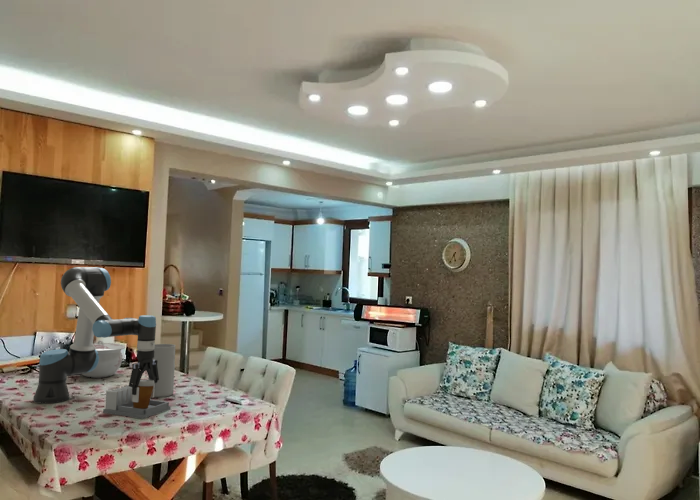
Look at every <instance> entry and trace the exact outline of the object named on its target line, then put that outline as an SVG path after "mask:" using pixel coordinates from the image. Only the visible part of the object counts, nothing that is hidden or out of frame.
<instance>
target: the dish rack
mask: <svg viewBox="0 0 700 500" xmlns="http://www.w3.org/2000/svg"><path fill="white" fill-rule="evenodd" d="M132 398H133V395H132V387H130V386H129V384H128V385H127V384H126V385H125V386H121V387H116V389H115V388H111V390H109V389H108V390H105V406H104V408H103V410H102V413H104V414H111V415H116V416H121V415H122V417H129V418H135V419H140V418H141V420H143V419H146V417H147V418H149V416H150V417H152V416H155V415H157V414H161V413H163V412H166V411H169V410H171V405H169V404H170V402H169V401H162V400H156V399H150V402H149V406H148V408H145V409H139V408H133V402H132Z"/></svg>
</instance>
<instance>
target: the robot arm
mask: <svg viewBox="0 0 700 500" xmlns="http://www.w3.org/2000/svg"><path fill="white" fill-rule="evenodd" d="M111 285H112V277H111V275H110V273H109V271H108V270H107V269H105V268H103V267H96V266H95V267H93V266H92V267H91V266H90V267H89V266H86V267H85V266H84V267H82V266H81V267H80V266H75V267H70V268H68V269H67V270H66V271H65V272H64V273H63V275H62V276H61V279H60V286H61V290H62V291H63V292H64V294H65V295H66V296H67V297H71V299H72V300H73V301H74V302H75V304H76V305H77V306H78V307H79V309H78V315H77V319H76V320H77V321H76V327H75V335H74V340H73V343H72V344H70V345H69V350H67V349H64V348H57V349H52V350H46V351H44V352H43V353H41V355H40V356H39V362H38V364H39V365H38V366H39V367H38V384H37V386H36V387H37V388H36V390H35V393H34V395H33V399H32V401H33V402H34V403H36V404H55V403H62V402H65V401H68V400H69V399H70V392H69V389H68V385H67V376H75V375H83V374H84V373H87V372H91V371H93V370H94V369H95V368H96V367H97V365H98V362H99V356H98V352H97V350H95V346H94V345H93V343H94V338H95V337H96V338H111V337H112V338H113V337H122V336H123V337H124V336H130V335H131V336H137V341H136V342H137V344H136V349H137V351H136V359H137V360H138V361H137V363H132V367H131V373H130V377H129V383H128V385H129V386H130V387H132V395H133V398H132V402H138V400H139V387H138V385H139V382H140V379H142V377H143V374H145V372H146V373H147V376H149V379H150V380H154V383H157V382H158V380H159V375H158V367H157V362H158V361H157V360H153V358H154V353H155V351H154V350H153V349H154V348H155V344H156V343H155V341H156V330H157V319H156V316H155V315H150V314H149V315H147V314H146V315H145V314H142V315H139V316H138V318H136V317H135V318H134V317H124V318H119V319H118V318H116V319H114V318H112V317H111V315H109V314H108V312H107V311H106V310H105V309H104V307H103V306H102V305H101V304H100V300H101V299H102V298H103V297H104V294H105V292H106V291H108V290H109V289H110V288H111ZM135 384H136V385H135ZM154 390H155V384H154V386H153V390H152V394H151V398H153V399H154V398H155V397H154Z"/></svg>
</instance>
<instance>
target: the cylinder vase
mask: <svg viewBox="0 0 700 500" xmlns="http://www.w3.org/2000/svg"><path fill="white" fill-rule="evenodd" d="M153 350H154V351H155V353H154V358H153V360H157V361H158V362H157V367H158V375H159V380H158V382H157V383H155V390H154V398H165V397H169V396H172V395H174V387H175V386H174V385H175V384H174V383H175V369H176V368H175V363H176V362H175V361H176V344H172V343H155V348H154V349H153ZM147 376H148V375H147ZM147 378H148V379H147V380H150V379H149V376H148V377H147Z"/></svg>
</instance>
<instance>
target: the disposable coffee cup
mask: <svg viewBox="0 0 700 500" xmlns="http://www.w3.org/2000/svg"><path fill="white" fill-rule="evenodd" d="M154 384H155V383H154V380H148V379H145V378H143V379H142V378H141V379H140V382H139V385H138V387H139V400H138V402H133V408H139V409H145V408H148V406H149V402H150V400H151V398H152V397H151V394H152V390H153V386H154ZM135 385H136V384H135Z"/></svg>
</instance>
